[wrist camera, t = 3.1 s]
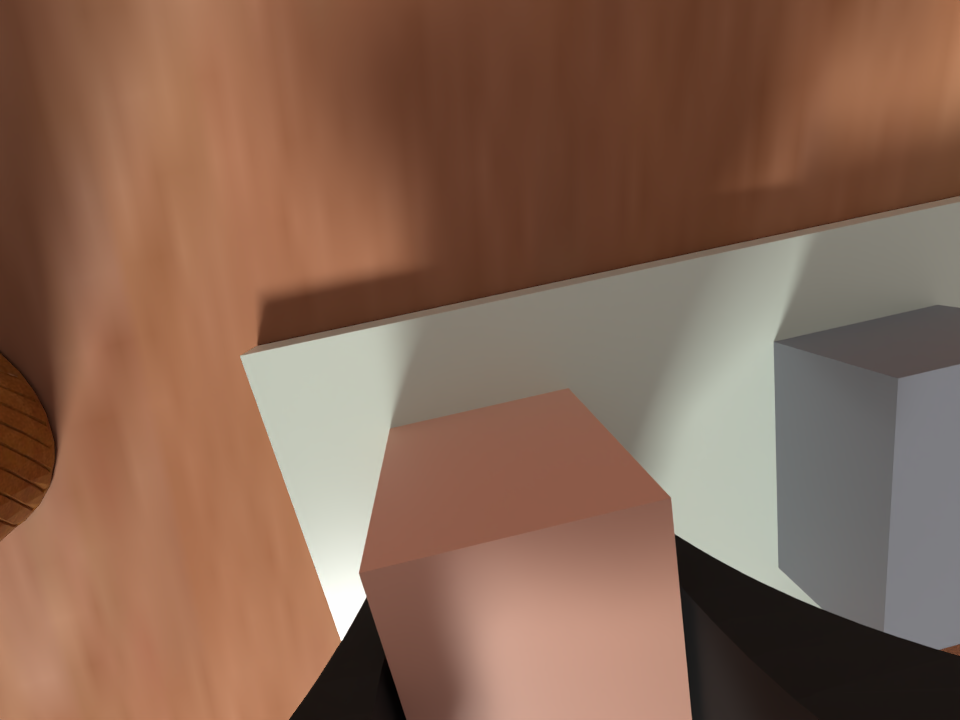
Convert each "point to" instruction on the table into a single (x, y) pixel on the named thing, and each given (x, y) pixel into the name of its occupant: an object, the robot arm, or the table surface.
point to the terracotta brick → (525, 570)
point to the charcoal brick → (873, 471)
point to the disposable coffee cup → (22, 449)
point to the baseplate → (601, 376)
